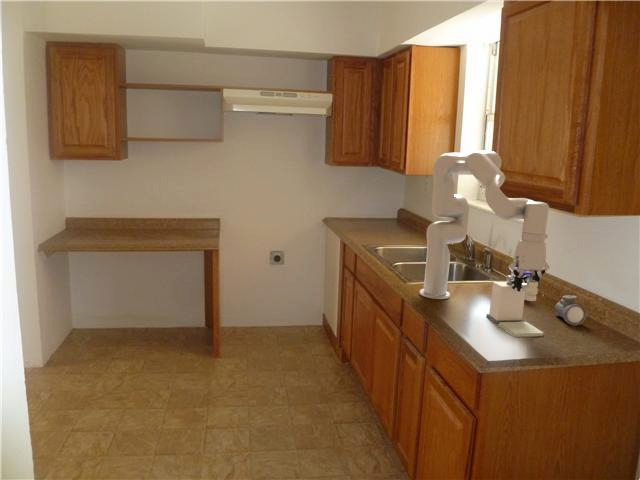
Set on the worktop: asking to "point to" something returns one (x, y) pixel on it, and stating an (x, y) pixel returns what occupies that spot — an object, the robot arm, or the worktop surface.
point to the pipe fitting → (570, 310)
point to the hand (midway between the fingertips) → (526, 287)
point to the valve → (527, 288)
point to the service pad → (520, 329)
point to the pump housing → (506, 302)
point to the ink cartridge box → (525, 273)
